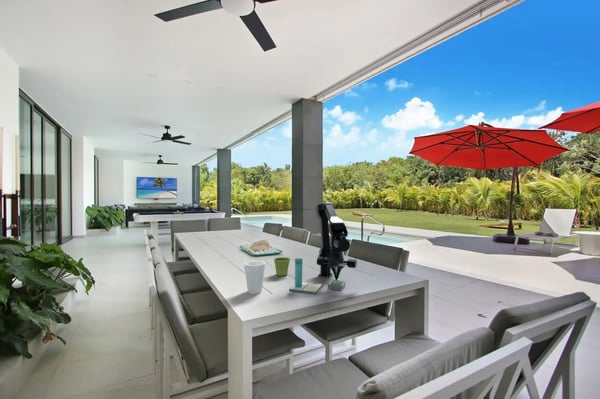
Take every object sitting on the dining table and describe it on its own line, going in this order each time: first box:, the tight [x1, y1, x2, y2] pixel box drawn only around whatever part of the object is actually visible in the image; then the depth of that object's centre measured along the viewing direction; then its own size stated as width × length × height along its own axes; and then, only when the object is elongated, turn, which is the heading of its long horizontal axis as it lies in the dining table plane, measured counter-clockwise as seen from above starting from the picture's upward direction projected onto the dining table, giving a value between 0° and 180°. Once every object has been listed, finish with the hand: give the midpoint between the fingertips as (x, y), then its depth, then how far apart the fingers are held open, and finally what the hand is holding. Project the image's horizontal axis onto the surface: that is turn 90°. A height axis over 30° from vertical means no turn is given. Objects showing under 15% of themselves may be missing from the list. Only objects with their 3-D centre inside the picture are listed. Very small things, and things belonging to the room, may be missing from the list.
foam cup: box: [243, 260, 266, 295], centre depth 130 cm, size 10×9×13 cm
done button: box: [331, 278, 342, 285], centre depth 137 cm, size 4×4×3 cm
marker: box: [294, 257, 303, 287], centre depth 134 cm, size 4×4×13 cm
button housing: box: [327, 279, 346, 291], centre depth 137 cm, size 7×7×2 cm
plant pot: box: [273, 256, 291, 277], centre depth 157 cm, size 9×9×9 cm
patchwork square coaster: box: [288, 281, 324, 295], centre depth 134 cm, size 13×13×1 cm
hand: (336, 279), depth 137 cm, fingers closed, pressing on done button
